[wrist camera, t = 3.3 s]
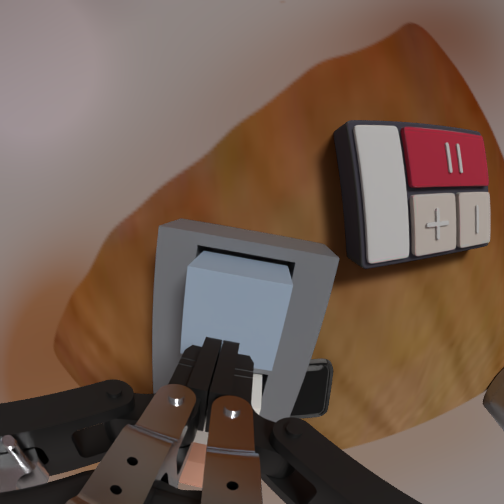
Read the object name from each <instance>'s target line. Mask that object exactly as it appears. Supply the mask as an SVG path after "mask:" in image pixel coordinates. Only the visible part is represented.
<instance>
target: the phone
mask: <svg viewBox="0 0 504 504" xmlns="http://www.w3.org/2000/svg"><path fill="white" fill-rule="evenodd" d="M332 377H333V367H332V364H331V362H330V361H329V360H327V359H311V360H310V363H309V366H308V368H307V371H306V374H305V377H304V380H303V383H302V385H301V388H300V391H299V394H298V396H297V399H296V401H295V404H294V407H293V409H292V412H291V414H290V417H294V418H312V417H319V416H322V415H324V414H325V413H326V412H327V410H328V405H329V399H330V392H331V385H332Z"/></svg>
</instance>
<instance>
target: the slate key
mask: <svg viewBox="0 0 504 504" xmlns="http://www.w3.org/2000/svg"><path fill="white" fill-rule="evenodd" d="M292 288H293V283H292V279H291V275H290V272H289V268H288V266H286V265H280V264H275V263H269V262H264V261H258V260H252V259H247V258H241V257H236V256H230V255H225V254H219V253H214V252H209V251H203V252H202V253H201V254H200V255H199V256H198V257H197V258H195V259H194V260H193V261H192V262H191V263H190V264H189V265H188V267H187V277H186V286H185V297H184V308H183V320H182V334H181V350H180V353H181V354H183V353H184V350H185V349H187V348H188V347H190V346H191V345H196V346H201V347H202V345H203V343H204V340H205V338H206V337H211V338H216V339H221V340H222V344H223V340H227V341H232V342H238V343H240V344H239V350H238V354H243V355H249V356H250V357H251V359H252V361H253V362H254V368H256V369H262V370H269V371H272V368H273V364H274V361H275V357H276V353H277V349H278V346H279V342H280V338H281V334H282V330H283V326H284V322H285V318H286V314H287V310H288V306H289V301H290V297H291V293H292Z"/></svg>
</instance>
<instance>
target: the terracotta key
mask: <svg viewBox="0 0 504 504" xmlns="http://www.w3.org/2000/svg"><path fill="white" fill-rule="evenodd" d="M206 448H207V445H205V444H200V443H196V442H193V446H192V448H191V451H190V454H189V456H188V459H187V461H186V464H185V466H184V469H183V471H182V474H181V476H180V479H179V483H183V484H187V485H192V486H196V487H201V488H202V484H203V474H204V465H205V456H206Z"/></svg>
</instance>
